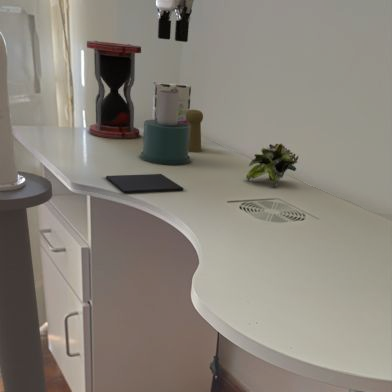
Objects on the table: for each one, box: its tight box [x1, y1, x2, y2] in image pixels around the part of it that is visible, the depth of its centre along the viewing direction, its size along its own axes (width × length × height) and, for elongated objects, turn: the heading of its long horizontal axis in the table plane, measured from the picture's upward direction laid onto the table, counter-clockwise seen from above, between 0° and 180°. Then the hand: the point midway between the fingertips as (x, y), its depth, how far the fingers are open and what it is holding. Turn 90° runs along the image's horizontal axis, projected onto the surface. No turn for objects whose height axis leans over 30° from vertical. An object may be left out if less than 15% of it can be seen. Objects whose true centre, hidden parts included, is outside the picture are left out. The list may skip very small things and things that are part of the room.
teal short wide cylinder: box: [140, 119, 191, 166], centre depth 128 cm, size 14×14×9 cm
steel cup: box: [157, 91, 179, 126], centre depth 123 cm, size 5×5×8 cm
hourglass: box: [86, 40, 142, 139], centre depth 147 cm, size 16×16×25 cm
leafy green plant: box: [245, 143, 299, 188], centre depth 116 cm, size 11×11×12 cm
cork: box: [186, 109, 204, 153], centre depth 141 cm, size 6×6×11 cm
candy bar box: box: [151, 82, 192, 124], centre depth 147 cm, size 11×5×16 cm, turn 104°
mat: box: [105, 173, 184, 194], centre depth 107 cm, size 14×12×1 cm
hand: (172, 40), depth 115 cm, fingers open, 9 cm apart
